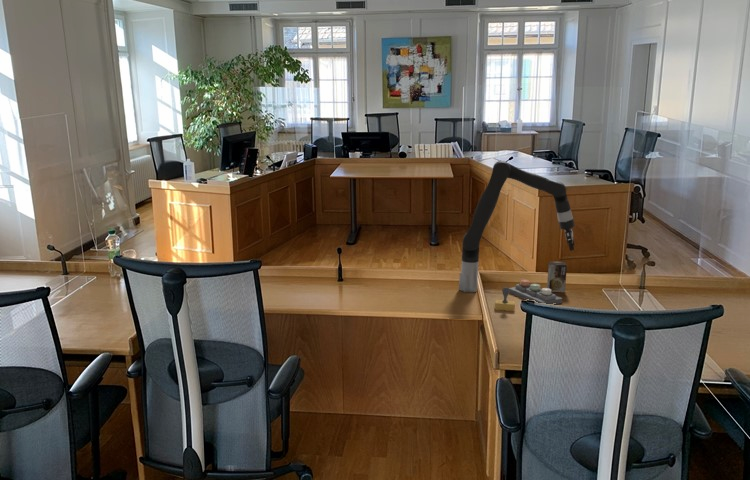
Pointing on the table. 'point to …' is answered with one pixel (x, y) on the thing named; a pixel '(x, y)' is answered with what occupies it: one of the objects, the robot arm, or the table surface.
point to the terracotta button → (525, 283)
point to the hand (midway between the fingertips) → (572, 247)
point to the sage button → (535, 287)
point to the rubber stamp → (505, 302)
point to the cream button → (546, 291)
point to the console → (534, 295)
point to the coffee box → (557, 276)
